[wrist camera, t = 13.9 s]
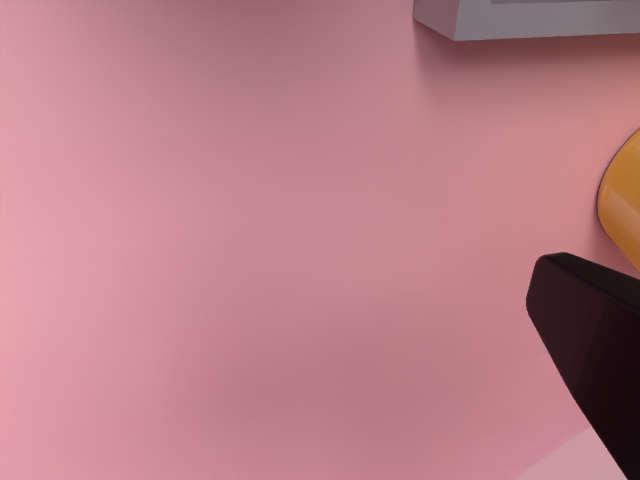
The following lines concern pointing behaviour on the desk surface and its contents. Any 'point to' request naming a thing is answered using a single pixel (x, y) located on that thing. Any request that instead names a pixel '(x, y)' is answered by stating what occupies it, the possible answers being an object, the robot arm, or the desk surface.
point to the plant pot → (623, 200)
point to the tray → (527, 18)
